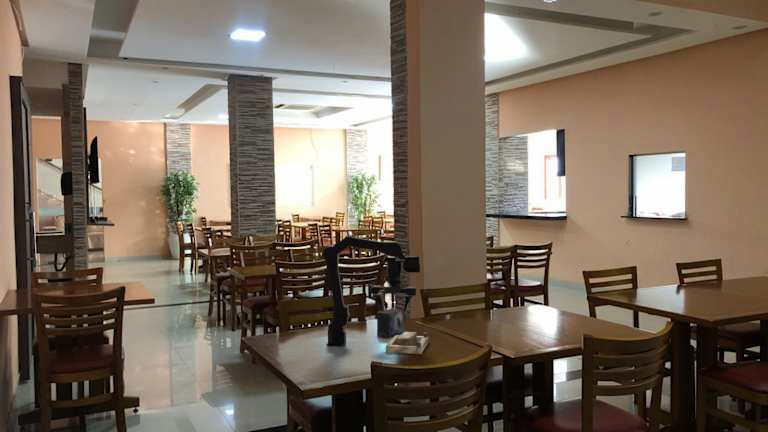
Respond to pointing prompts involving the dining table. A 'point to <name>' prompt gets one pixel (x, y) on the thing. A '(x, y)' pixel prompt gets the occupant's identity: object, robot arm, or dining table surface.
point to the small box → (389, 323)
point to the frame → (407, 339)
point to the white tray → (418, 349)
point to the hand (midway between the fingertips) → (394, 311)
